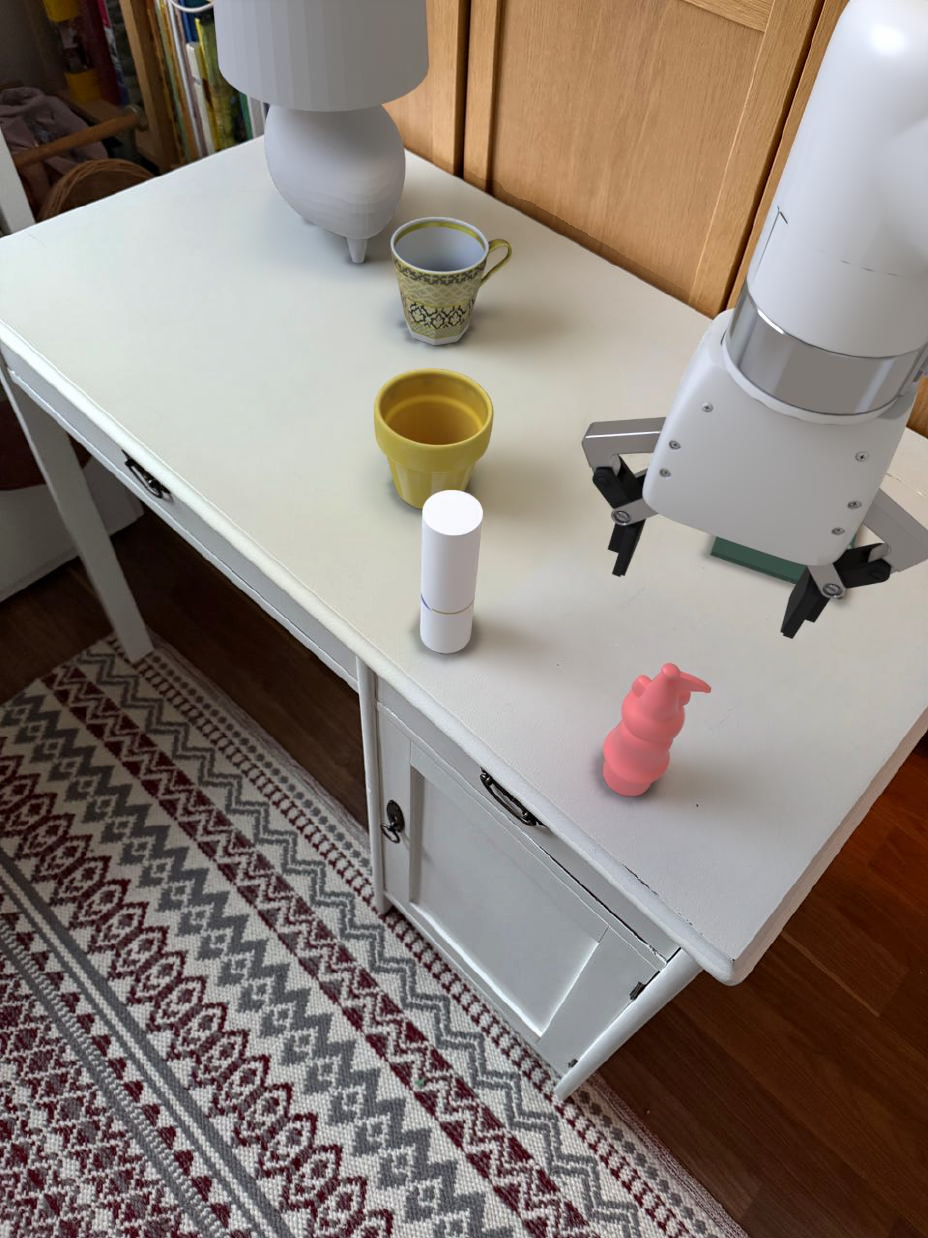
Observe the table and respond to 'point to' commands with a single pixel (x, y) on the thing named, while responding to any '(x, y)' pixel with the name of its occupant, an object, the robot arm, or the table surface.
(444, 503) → the tube
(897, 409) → the robot arm
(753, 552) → the mat
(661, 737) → the figurine
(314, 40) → the table lamp
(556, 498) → the table surface
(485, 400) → the flower pot
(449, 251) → the ceramic cup
